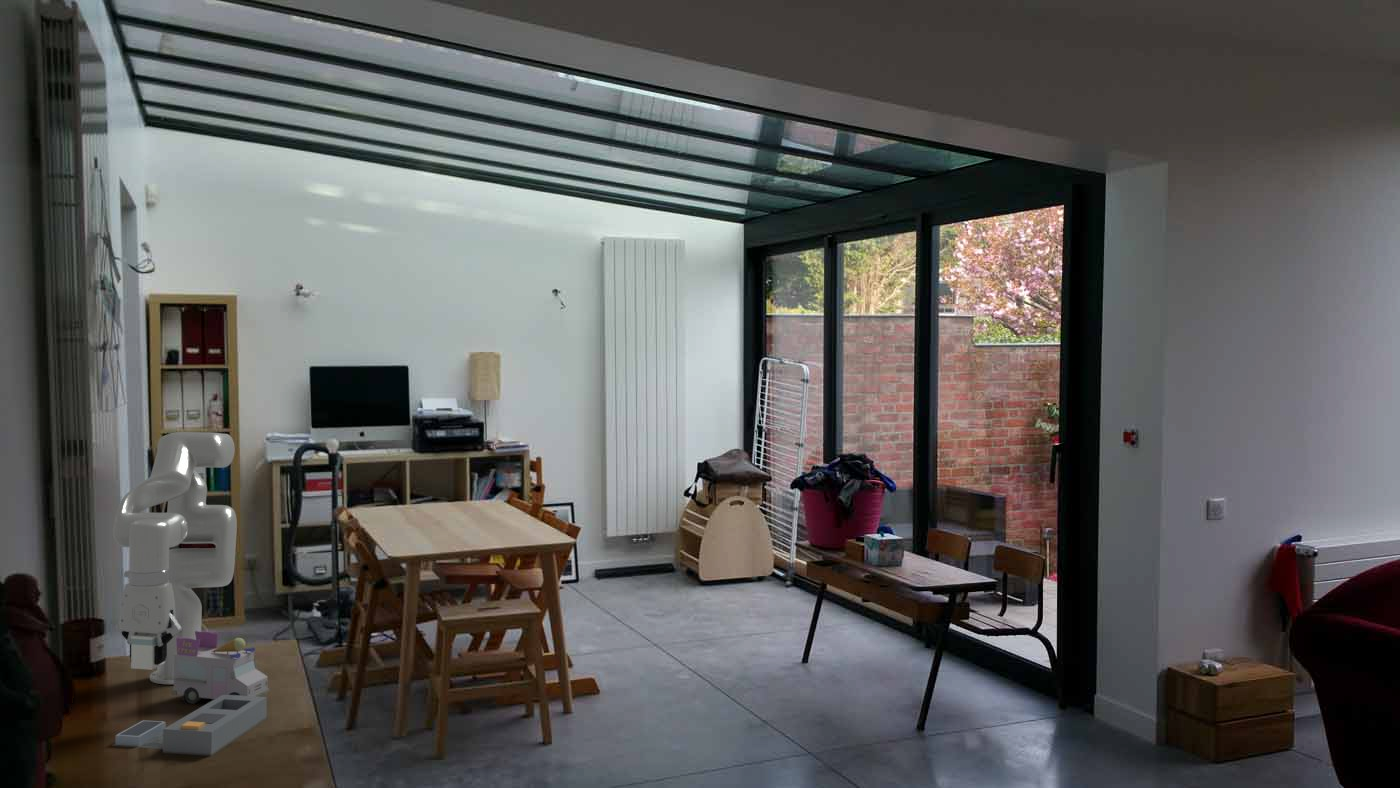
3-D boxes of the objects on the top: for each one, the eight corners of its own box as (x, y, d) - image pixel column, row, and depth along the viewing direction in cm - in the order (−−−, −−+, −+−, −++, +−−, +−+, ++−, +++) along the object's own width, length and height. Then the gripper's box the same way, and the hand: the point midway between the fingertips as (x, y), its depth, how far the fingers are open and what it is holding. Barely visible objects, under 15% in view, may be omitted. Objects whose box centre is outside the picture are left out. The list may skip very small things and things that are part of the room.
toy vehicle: (245, 712, 230) (247, 645, 230) (169, 703, 234) (170, 637, 234) (270, 699, 239) (272, 635, 239) (196, 691, 243) (197, 628, 243)
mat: (141, 729, 217) (141, 728, 217) (196, 733, 216) (196, 731, 216) (111, 746, 207) (111, 745, 207) (168, 750, 206) (168, 748, 206)
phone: (142, 729, 217) (142, 720, 217) (165, 730, 216) (165, 721, 216) (115, 744, 208) (115, 735, 208) (139, 746, 207) (139, 736, 207)
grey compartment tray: (222, 717, 226) (222, 691, 226) (266, 719, 226) (266, 694, 226) (162, 754, 204) (163, 725, 204) (211, 757, 204) (211, 728, 204)
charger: (144, 661, 223) (144, 629, 223) (164, 662, 223) (165, 630, 223) (130, 668, 219) (131, 635, 218) (151, 669, 218) (152, 637, 218)
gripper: (99, 579, 217) (99, 664, 218) (176, 584, 215) (175, 670, 217) (122, 571, 224) (121, 654, 225) (197, 576, 223) (196, 659, 224)
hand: (148, 661), depth 221 cm, fingers closed on charger, 4 cm apart
